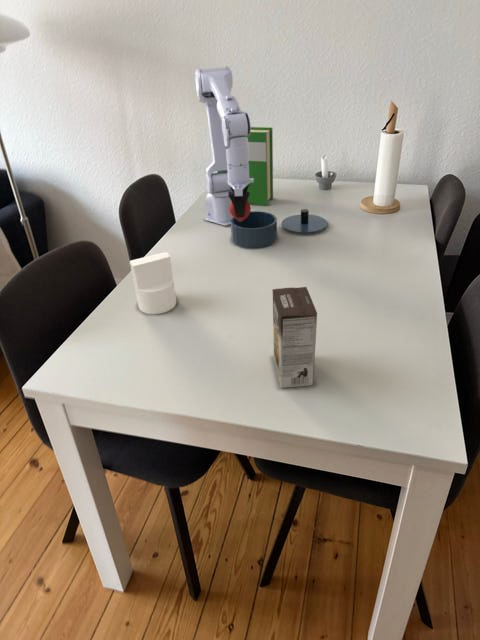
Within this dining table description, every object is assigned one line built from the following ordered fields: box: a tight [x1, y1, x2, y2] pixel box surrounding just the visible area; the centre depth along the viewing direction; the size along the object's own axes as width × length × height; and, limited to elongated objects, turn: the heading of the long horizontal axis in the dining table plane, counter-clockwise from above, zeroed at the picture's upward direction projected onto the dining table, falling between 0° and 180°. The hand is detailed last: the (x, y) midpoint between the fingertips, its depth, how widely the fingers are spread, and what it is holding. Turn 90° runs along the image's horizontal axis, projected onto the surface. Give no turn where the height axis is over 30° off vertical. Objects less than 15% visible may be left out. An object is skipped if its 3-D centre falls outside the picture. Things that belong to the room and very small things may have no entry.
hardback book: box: [216, 126, 274, 207], centre depth 162 cm, size 18×7×24 cm, turn 70°
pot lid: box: [280, 208, 329, 235], centre depth 146 cm, size 14×14×5 cm
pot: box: [230, 210, 278, 250], centre depth 140 cm, size 13×13×6 cm
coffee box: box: [272, 286, 318, 389], centre depth 86 cm, size 9×6×16 cm
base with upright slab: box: [129, 251, 177, 315], centre depth 110 cm, size 9×9×12 cm
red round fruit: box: [230, 200, 252, 222], centre depth 131 cm, size 6×6×8 cm
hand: (240, 212), depth 132 cm, fingers closed on red round fruit, 6 cm apart
